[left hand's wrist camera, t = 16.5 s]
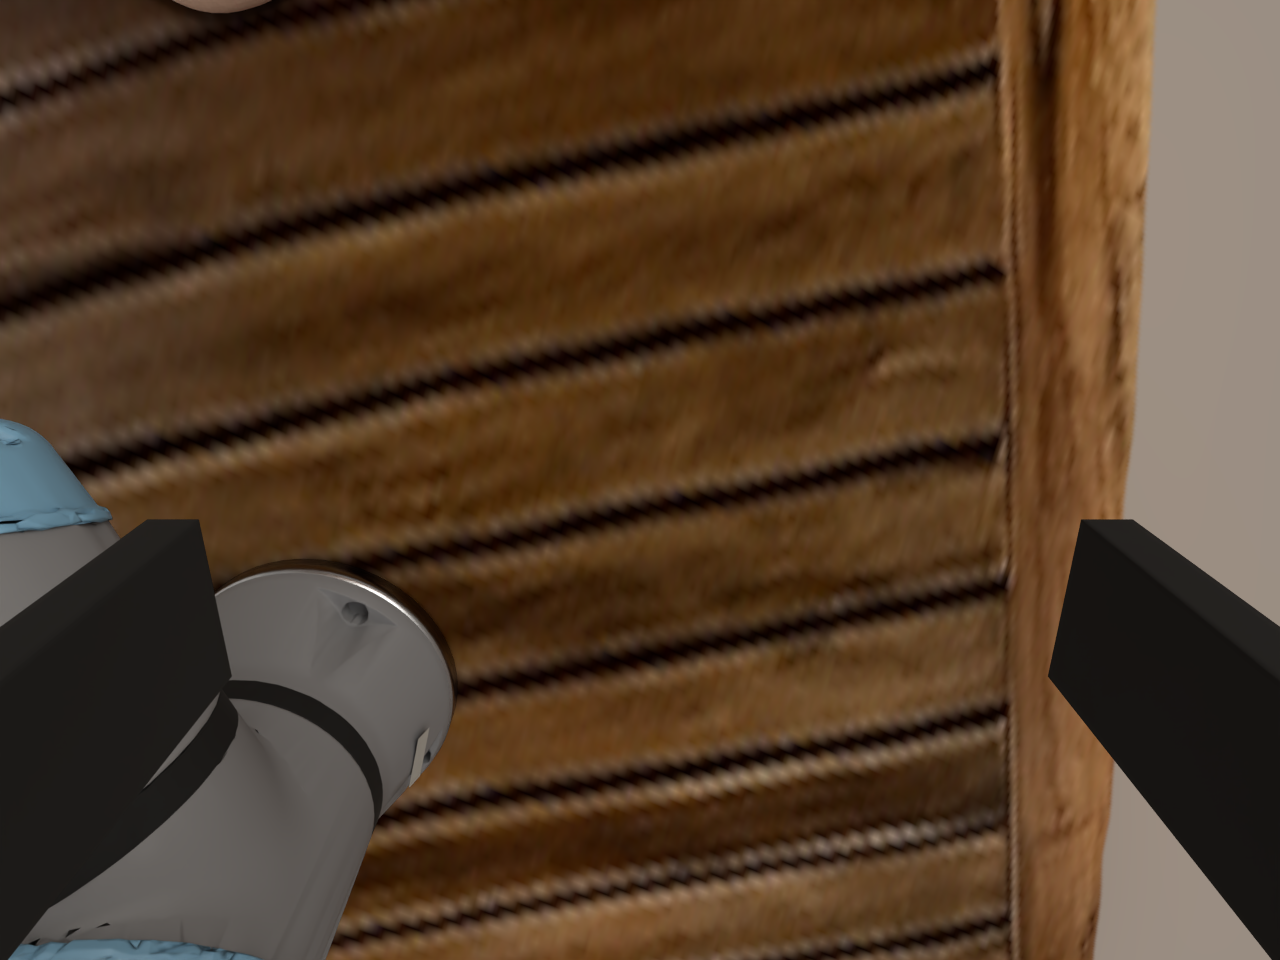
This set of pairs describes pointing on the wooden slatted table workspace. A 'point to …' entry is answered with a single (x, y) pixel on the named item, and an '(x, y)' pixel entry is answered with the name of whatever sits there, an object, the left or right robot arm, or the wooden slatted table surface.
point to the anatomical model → (221, 5)
